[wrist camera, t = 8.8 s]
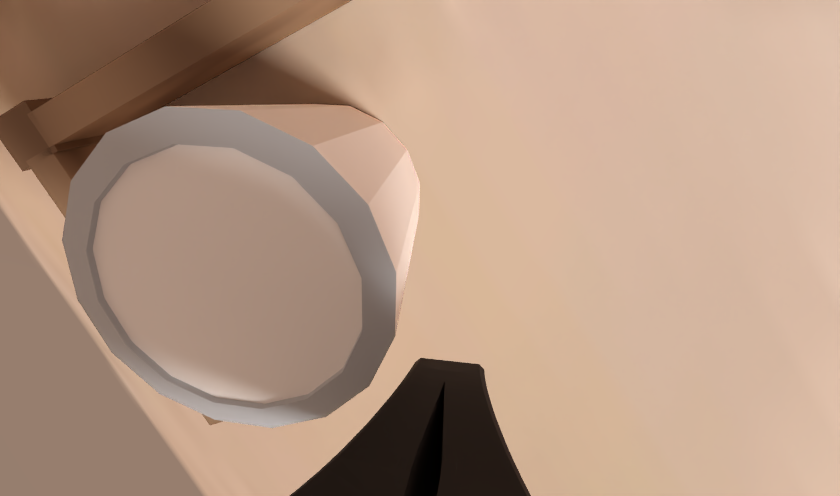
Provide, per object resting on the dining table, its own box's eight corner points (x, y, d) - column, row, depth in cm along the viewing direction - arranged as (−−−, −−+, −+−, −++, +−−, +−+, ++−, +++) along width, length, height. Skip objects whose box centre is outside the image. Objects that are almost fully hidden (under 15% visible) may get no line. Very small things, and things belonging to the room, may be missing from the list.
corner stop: (51, 303, 19) (-10, 336, 17) (76, -166, 13) (-14, -213, 11) (261, 387, 19) (228, 433, 17) (384, -42, 13) (360, -63, 11)
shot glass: (208, 100, 15) (-4, 135, 9) (422, 63, 14) (355, 73, 7) (266, 295, 18) (132, 434, 11) (454, 279, 16) (424, 428, 10)
